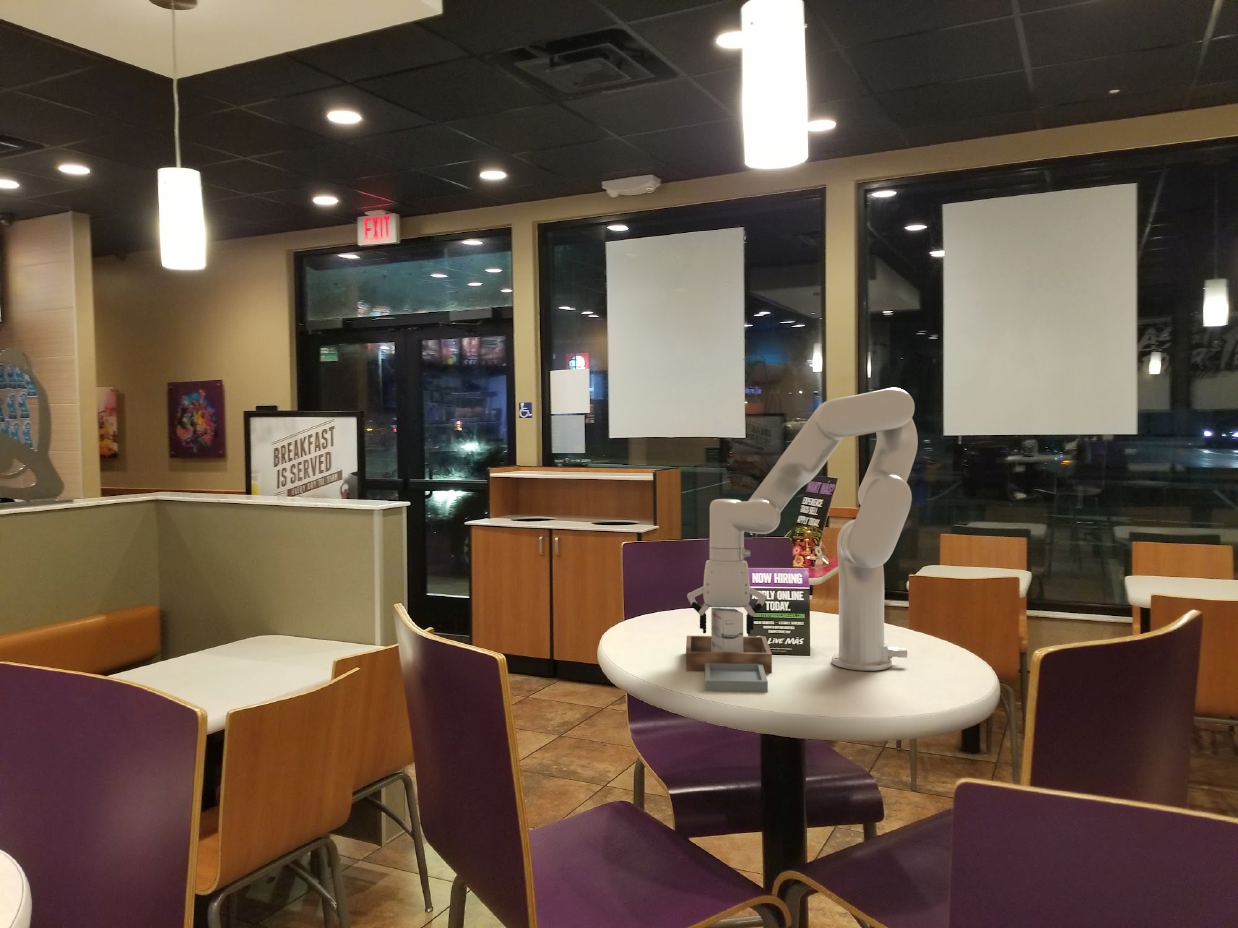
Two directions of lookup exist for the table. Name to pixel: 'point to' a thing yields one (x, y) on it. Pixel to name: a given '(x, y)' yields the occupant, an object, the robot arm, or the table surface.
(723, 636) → the ink box
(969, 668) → the table surface
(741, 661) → the crate
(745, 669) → the tray
